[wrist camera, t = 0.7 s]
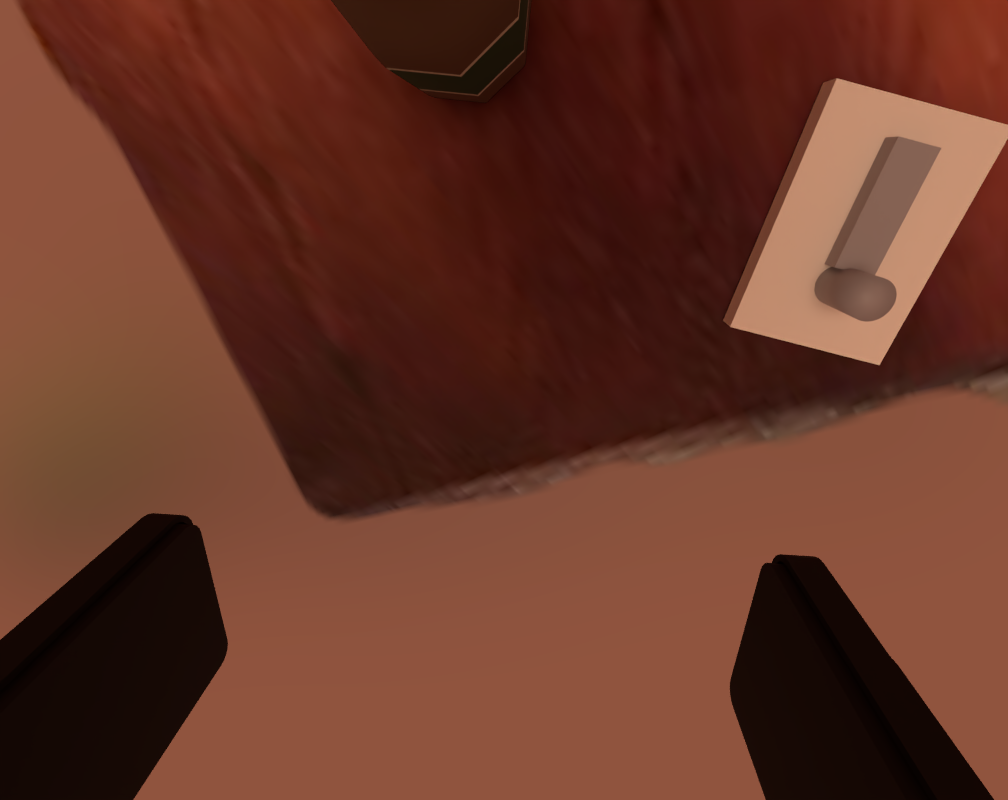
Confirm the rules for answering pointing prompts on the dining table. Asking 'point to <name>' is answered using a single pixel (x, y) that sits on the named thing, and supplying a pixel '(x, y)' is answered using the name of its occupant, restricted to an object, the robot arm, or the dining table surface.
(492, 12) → the beer bottle
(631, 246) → the dining table surface
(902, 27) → the dining table surface
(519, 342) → the dining table surface
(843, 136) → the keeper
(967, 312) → the dining table surface
